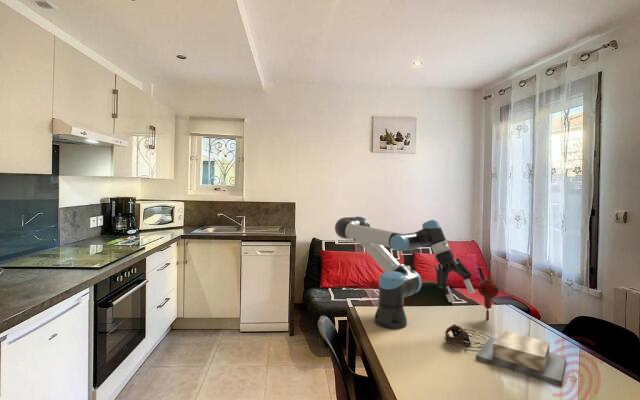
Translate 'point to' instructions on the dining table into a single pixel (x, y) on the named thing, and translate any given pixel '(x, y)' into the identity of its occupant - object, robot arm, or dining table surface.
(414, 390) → the dining table surface
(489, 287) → the lantern
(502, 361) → the build base
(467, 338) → the pottery mug
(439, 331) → the dining table surface
